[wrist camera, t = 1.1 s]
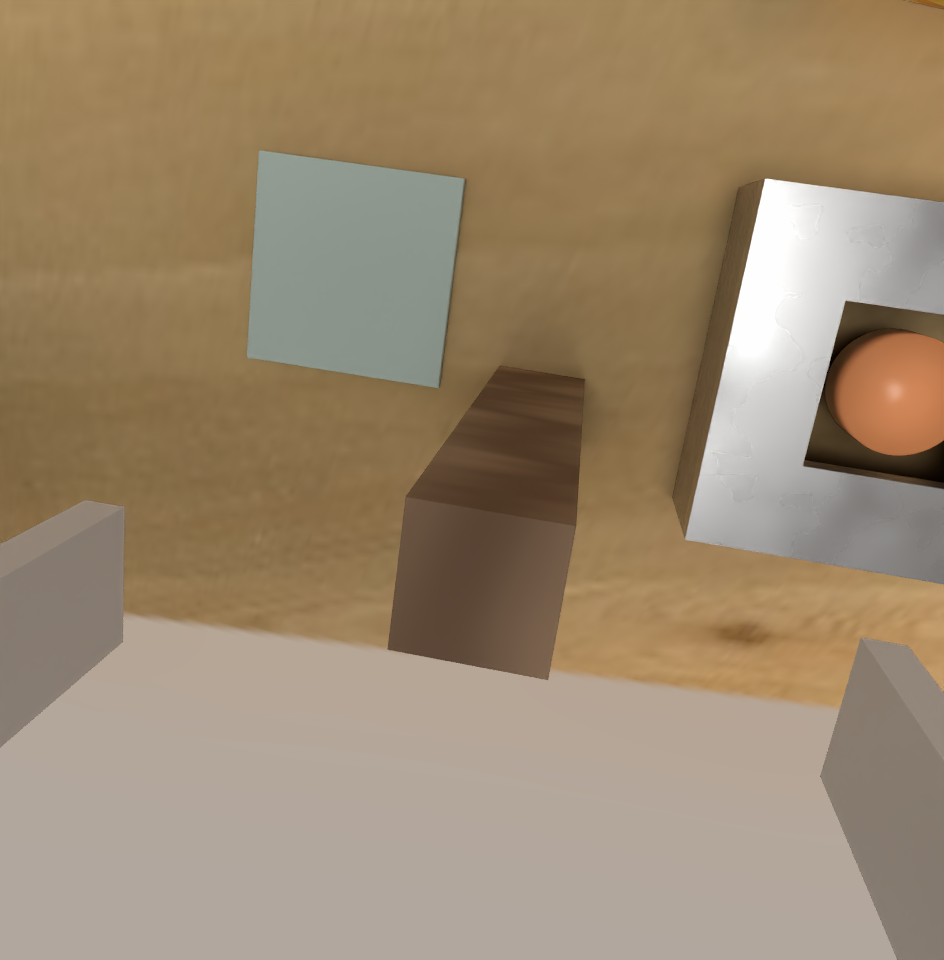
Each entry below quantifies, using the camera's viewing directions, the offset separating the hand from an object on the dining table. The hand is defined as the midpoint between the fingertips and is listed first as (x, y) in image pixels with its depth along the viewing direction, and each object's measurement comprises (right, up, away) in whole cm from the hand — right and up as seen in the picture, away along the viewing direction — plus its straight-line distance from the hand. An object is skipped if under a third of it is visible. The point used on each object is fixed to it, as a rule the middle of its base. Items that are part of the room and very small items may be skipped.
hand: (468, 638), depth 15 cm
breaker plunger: (+15, +6, +15) cm, 22 cm away
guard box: (+15, +7, +17) cm, 24 cm away
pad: (-5, +11, +19) cm, 22 cm away
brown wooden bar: (+3, +5, +19) cm, 20 cm away
